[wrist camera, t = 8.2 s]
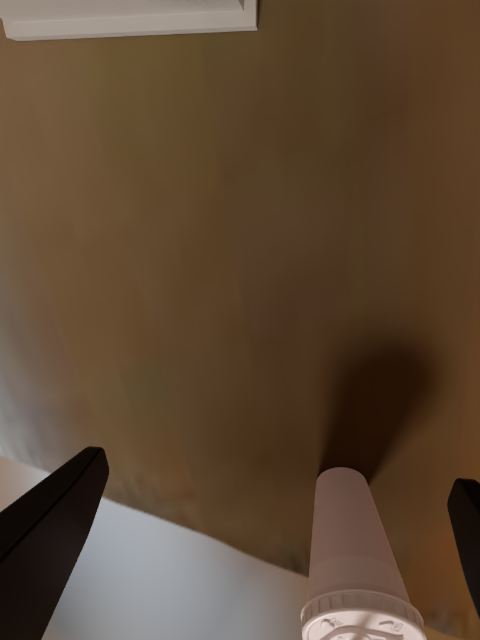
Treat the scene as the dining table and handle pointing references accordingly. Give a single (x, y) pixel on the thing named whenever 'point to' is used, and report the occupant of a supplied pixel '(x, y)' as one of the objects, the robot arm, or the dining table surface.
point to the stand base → (123, 17)
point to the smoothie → (353, 568)
